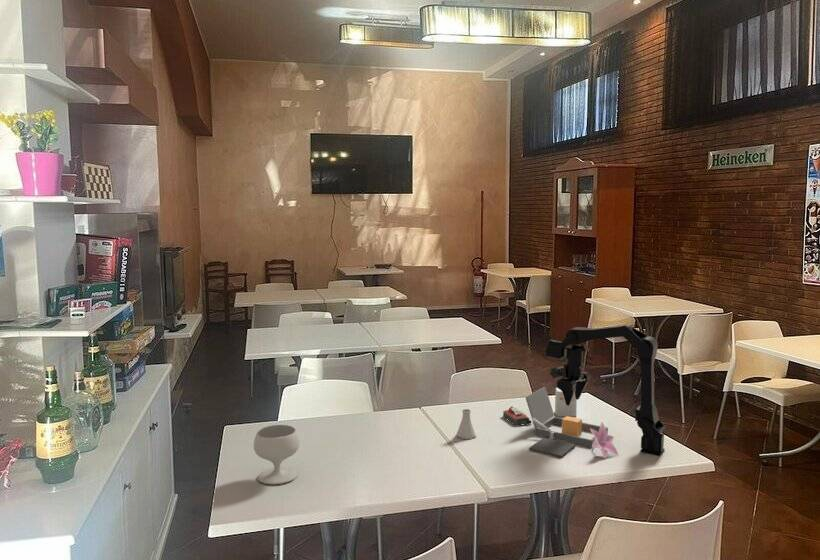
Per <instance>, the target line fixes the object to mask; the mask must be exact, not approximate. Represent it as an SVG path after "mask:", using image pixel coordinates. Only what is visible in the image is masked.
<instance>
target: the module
mask: <svg viewBox="0 0 820 560" xmlns="http://www.w3.org/2000/svg"><path fill="white" fill-rule="evenodd" d="M562 418H563V419H562V425H561V433H563V434H568V435H572V436H577V437H581V436H582V435H583V431H582V422H583V419H582V418H578V417H575V416H564V417H562Z"/></svg>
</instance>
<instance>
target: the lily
mask: <svg viewBox="0 0 820 560" xmlns="http://www.w3.org/2000/svg"><path fill="white" fill-rule="evenodd" d="M599 426H600V429H599V432H597V431H596V430H594V429H591V428H590V430H591V431H590V432H591V433H592V435H593V437H595V440H594V442H593V444H592V447H591V448H592V449H591V452H592V451H593V450H595V449H599V450H601V454H602V456H603V458H604V460H606V459H607V456H608V452H609V453H610V454H613V455H615V456H617V455H618V454H619V452H618V450H617V448H616V447H615V445H614V444H613V441H614V439H615V437H614V436H612V435H610V434H609V435H608V434H607V430H606V428H605V427H606V426H605V424H604V422H603V421H601V423H600V425H599ZM618 456H619V455H618ZM605 458H606V459H605Z"/></svg>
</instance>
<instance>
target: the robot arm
mask: <svg viewBox="0 0 820 560" xmlns="http://www.w3.org/2000/svg"><path fill="white" fill-rule="evenodd" d="M622 337H623V339H626V341H627V342H628V343H629V344H631V346H633V347H634V348H635V349H636V354H637V358H638V360H639V363H640V401H641V402H640V405H639V406H637V407H636V409H635V420H634V421H635V422H636V424H637V426H638V427H639V429H640V430H641V432H642V435H641V438H640V452H642V453H647V454H651V455H656V456H661V455H663V453H664V452H665V450H666V449H665V448H664V446H665V445H664V444H665V443H664V442H665V434H664V433H663V432H664V430H665V428H666V425H664V423H663V422H662V421H661V420H660V419H659V412H658V408H657V407H656V404H655V367H654V366H655V365H654V364H655V361H656V358H657V357H656V356H657V352H658V348H659V347H658V346H659V344H658V340H657V339H656V338H655V337H653V336H650V335H648V334H645V333H644V332H642V331H641V330H639V329H637V328H635V327H634V326H632V325H631V324H629V323H627V324H626V323H625V324H623V325H615V326H603V327H596V328H595V327H594V328H592V327H591V328H589V327H581V326H577V327H576V326H575V327H573V328H571V329H568V330H567V332H566V334H565V338H564V339H563V340H562V341H560V340H556V339H555V340H554V339H549V340H548V344H547V346H546V349H545V356H546V358H550V359H555V360H556V359H557V360H564V358H566V362H565V363H564V364H563V366H554V367H551V368H550V370H549V375H550V376H551V377H552V379H556V378H559V379H558V380H557V381H555V382H556V383H555V388H558V389H560V390H561V391H562V392H563V395H564V398H565V402H566V405H568V406H569V405H570V403H571V400H572V398H573V395H574V393H575V398H576V399H577V400H579V399H580V397H581V396H582V395H583V391H584V390H585V388H586V386H587V385H588V383H589V381H590V380H591V374H590V373H589V372H588V371H583V368H584V367H585V363H583V359H584V358H583V357H584V353H585V352H588V351H589V350H590V348H589V347H588V346H587V345H586V344H585V343H586V342H589V341H592V340H600V339H601V340H602V339H612V338H622ZM582 343H583V344H582ZM580 344H581V345H580ZM571 345H572V346H571ZM560 377H562V378H560Z"/></svg>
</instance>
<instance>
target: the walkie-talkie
mask: <svg viewBox="0 0 820 560" xmlns="http://www.w3.org/2000/svg"><path fill="white" fill-rule="evenodd" d="M502 417H503V418H504V417H505V418H506V419H508V420H509V421H510V422H509V421H508V420H507V421H508V422H509V423H510V424H512V423H513V424H514V425H513V424H512V425H513V426H516V425H519V426H522V425H521V424H528V425H530V424H532V420H531V419H530V417H528V416H527V413H526V412H524V411H523V410H519V409H518V408H515V407H513V406H510V407H509V408H508V409H507V410H503V412H502ZM505 418H504V419H505ZM506 419H505V420H506Z"/></svg>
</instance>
